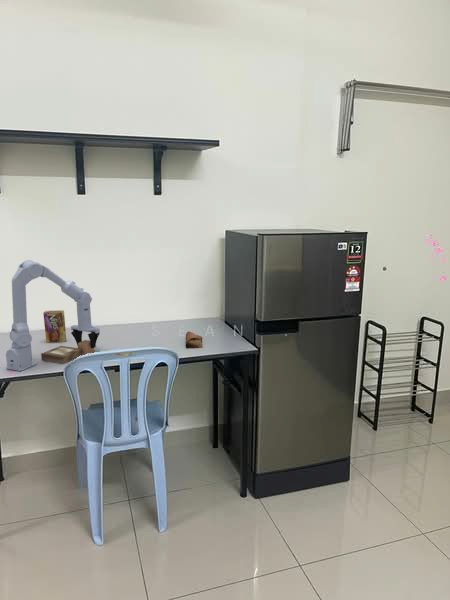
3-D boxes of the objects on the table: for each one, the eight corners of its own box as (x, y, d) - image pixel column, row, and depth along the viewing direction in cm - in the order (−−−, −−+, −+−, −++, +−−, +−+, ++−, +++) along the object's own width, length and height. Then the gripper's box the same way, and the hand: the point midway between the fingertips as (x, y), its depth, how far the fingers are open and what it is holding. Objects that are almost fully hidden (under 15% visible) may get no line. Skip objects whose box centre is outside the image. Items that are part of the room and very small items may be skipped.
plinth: (63, 363, 187) (63, 357, 187) (41, 360, 192) (41, 353, 191) (82, 355, 198) (82, 348, 198) (61, 351, 203) (60, 345, 202)
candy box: (66, 339, 221) (64, 309, 218) (64, 342, 217) (62, 311, 214) (48, 340, 220) (45, 310, 217) (45, 342, 216) (42, 312, 213)
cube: (87, 354, 199) (86, 344, 198) (78, 353, 201) (77, 342, 200) (94, 351, 204) (94, 341, 202) (85, 350, 205) (85, 339, 204)
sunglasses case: (204, 347, 208) (196, 336, 206) (191, 355, 208) (183, 344, 206) (202, 336, 225) (195, 326, 224) (190, 343, 226) (183, 333, 224)
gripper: (103, 317, 200) (105, 345, 203) (77, 314, 205) (79, 342, 208) (93, 320, 193) (95, 350, 196) (66, 317, 199) (69, 346, 202)
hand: (86, 346), depth 202 cm, fingers open, 7 cm apart
